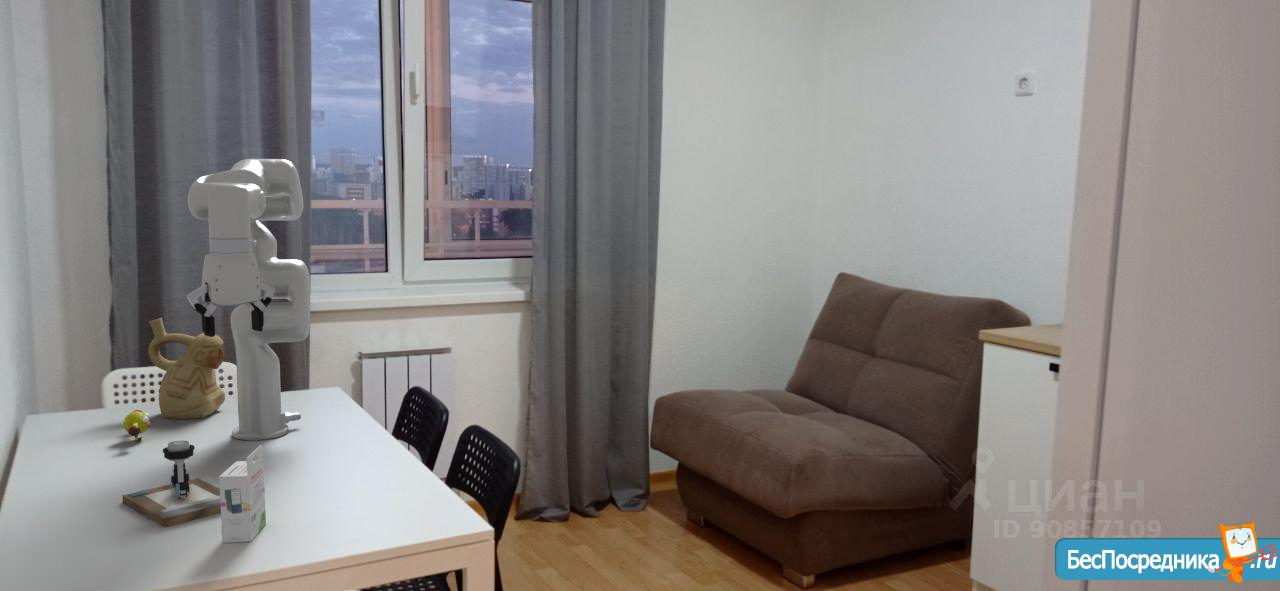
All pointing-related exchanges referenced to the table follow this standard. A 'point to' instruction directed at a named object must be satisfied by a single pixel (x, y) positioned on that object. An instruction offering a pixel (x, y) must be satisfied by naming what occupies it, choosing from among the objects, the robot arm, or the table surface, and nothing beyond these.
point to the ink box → (243, 499)
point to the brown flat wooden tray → (176, 503)
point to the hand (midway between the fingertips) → (233, 333)
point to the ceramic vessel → (188, 374)
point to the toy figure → (136, 423)
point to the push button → (179, 466)
